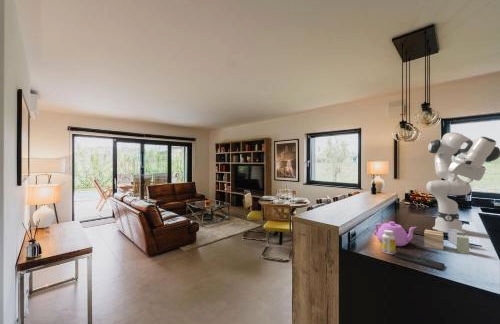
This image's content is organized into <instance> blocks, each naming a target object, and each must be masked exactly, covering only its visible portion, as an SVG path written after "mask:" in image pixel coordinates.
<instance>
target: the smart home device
mask: <svg viewBox="0 0 500 324" xmlns="http://www.w3.org/2000/svg"><path fill="white" fill-rule="evenodd" d="M394 259H397V260H401V261H405V262H409V263H410V264H411V263H412V264H416V265H418V266H419V265H420V266H423V267H426V268H429V269H432V270H437V271H440V272H442V270H443V269H444V268H445V263H443V262H440V261H435V260H432V259H428V258H424V257H420V256H416V255H412V254H409V253H406V252H401V251H399V252H398V251H397V252H396V253H395V254H394Z"/></svg>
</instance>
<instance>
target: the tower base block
mask: <svg viewBox="0 0 500 324" xmlns="http://www.w3.org/2000/svg"><path fill="white" fill-rule="evenodd" d="M423 240H424V239H423ZM423 242H424V244H423V245H424V248H429V249H434V250H440V251H444V242H443V243H439V242H433V241H428V240H424V241H423Z"/></svg>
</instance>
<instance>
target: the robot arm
mask: <svg viewBox="0 0 500 324" xmlns="http://www.w3.org/2000/svg"><path fill="white" fill-rule="evenodd" d="M496 145H497V141H496V140H495V139H492V138H490V137H487V136H479V137H478V138H476V139H471V138H469V137H467V136H465V135H463V134H462V133H459V132H455V131H454V132H452V131H451V132H447V133H444V134H443V136H442V138H441V139H435V140H433V141H431V142H429V144H428V146H427V149H428V152H429V153H430V154H436V155H435V156H434V169H435V174H436V176H437V177H438V178H440V179H438V180H437V179H436V180H435V179H434V180H429V181H428V182H427V183H426V185H425V188H426V191H427V192H428V193H429V194H431V195H432V196H434V198H435V199H436V201H437V206H438V207H437V209H438V211H437V217H436V218H435V221H434V222H435V223H434V226H433V227H432V229H433V230H435V231H439V232H443V233H447V234H448V229H456V230H459V231H461V232H464V233H465V234H467V233H466V231H465V230H464V229H463V222H462V221H461V220H460V214H459V204H458V203H457V201H455V200H453V199H451V198H449V197H448V195H449V196H465V195H469V194H470V193H471V191H472V187H471V184H470V183H472V182H473V181H474V180H475V181H481V180H482V179H483V177H484V175H485V173H486V170H487V169H486V166H483V165H484V163H485V162H486V163H489V162H493V161H494V162H495V161H496V160H498V159H499V158H500V148H499V146H496ZM460 154H463V155H465V156H458V155H460ZM453 157H455V158H454V160H452V158H453ZM460 176H461V177H463V178H464V177H465V178H467V180H466V181H465V180H463V179H461V178H460ZM441 179H443V180H441Z"/></svg>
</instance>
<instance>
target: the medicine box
mask: <svg viewBox="0 0 500 324" xmlns="http://www.w3.org/2000/svg"><path fill="white" fill-rule="evenodd" d="M465 234H466V233H464V232H461V231H459V230H456V229H448V233H447V235H448V243H451V244H453V245H455V246H457V243H456V235H462V236H466V235H465Z"/></svg>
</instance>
